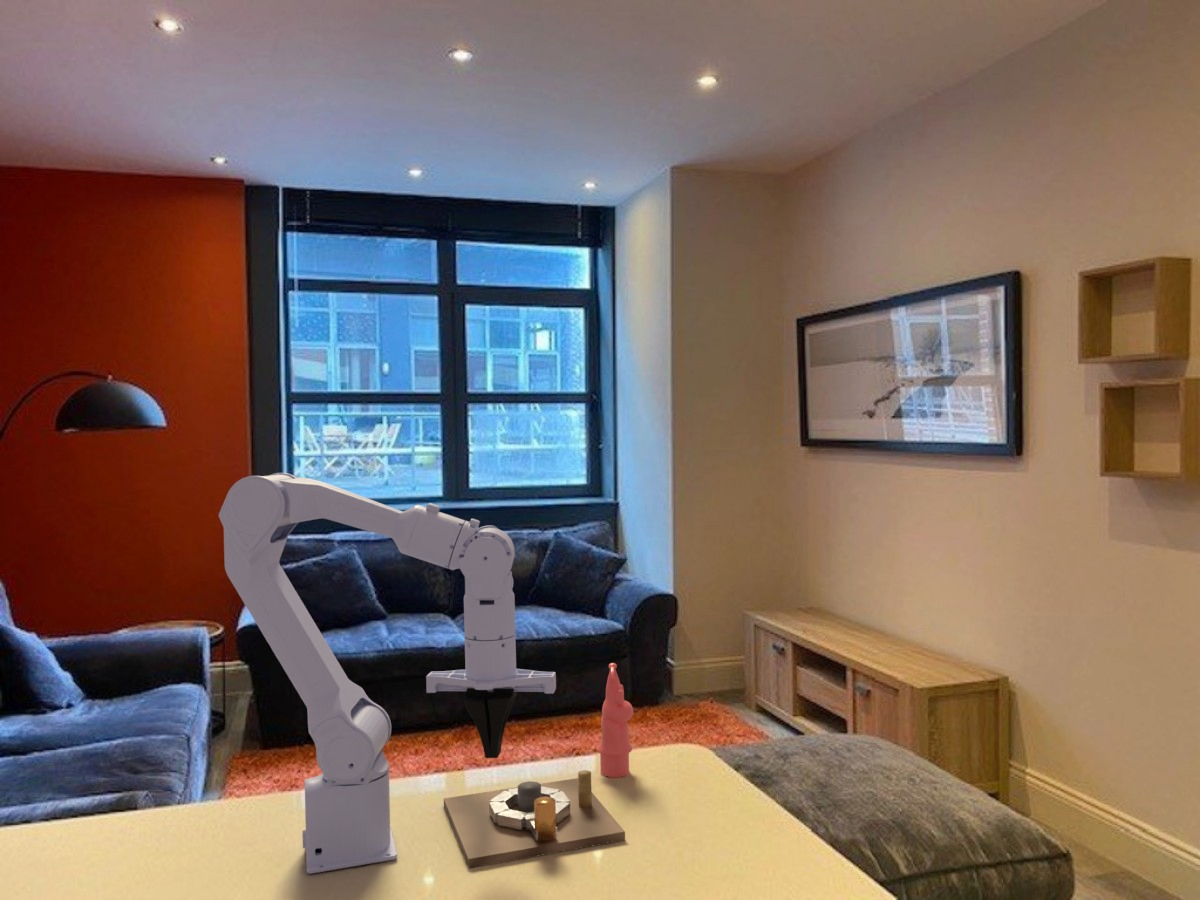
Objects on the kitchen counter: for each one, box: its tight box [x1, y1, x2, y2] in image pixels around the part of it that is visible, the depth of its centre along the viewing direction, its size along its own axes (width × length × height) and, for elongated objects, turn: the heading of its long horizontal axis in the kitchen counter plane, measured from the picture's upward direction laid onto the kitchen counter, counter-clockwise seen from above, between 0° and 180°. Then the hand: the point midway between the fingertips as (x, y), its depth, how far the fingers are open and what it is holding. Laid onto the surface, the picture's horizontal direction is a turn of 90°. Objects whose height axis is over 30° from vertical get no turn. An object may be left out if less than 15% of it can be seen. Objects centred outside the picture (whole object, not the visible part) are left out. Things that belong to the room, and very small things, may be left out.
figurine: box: [596, 662, 634, 778], centre depth 120 cm, size 5×5×15 cm
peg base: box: [443, 769, 626, 869], centre depth 105 cm, size 18×17×5 cm
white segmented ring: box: [489, 786, 570, 841], centre depth 103 cm, size 13×9×4 cm
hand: (493, 755), depth 99 cm, fingers closed
